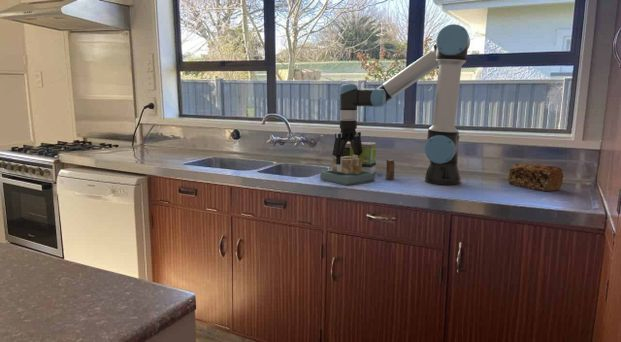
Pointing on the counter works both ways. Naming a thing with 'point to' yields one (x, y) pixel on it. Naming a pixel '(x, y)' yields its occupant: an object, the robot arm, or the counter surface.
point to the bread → (536, 176)
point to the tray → (347, 177)
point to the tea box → (364, 155)
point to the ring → (349, 165)
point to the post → (390, 169)
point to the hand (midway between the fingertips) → (347, 170)
